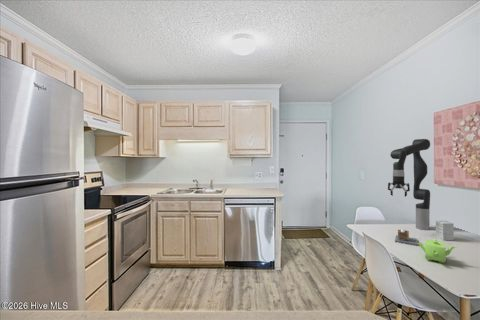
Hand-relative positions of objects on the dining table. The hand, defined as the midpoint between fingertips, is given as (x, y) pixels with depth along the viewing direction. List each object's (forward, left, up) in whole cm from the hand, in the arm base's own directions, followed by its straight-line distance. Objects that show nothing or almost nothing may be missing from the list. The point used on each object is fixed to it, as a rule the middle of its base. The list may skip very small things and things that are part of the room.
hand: (398, 196), depth 185 cm
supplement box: (-6, +28, -30) cm, 42 cm away
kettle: (+41, +20, -30) cm, 55 cm away
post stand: (+15, +5, -30) cm, 34 cm away
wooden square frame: (+16, +3, -27) cm, 32 cm away
